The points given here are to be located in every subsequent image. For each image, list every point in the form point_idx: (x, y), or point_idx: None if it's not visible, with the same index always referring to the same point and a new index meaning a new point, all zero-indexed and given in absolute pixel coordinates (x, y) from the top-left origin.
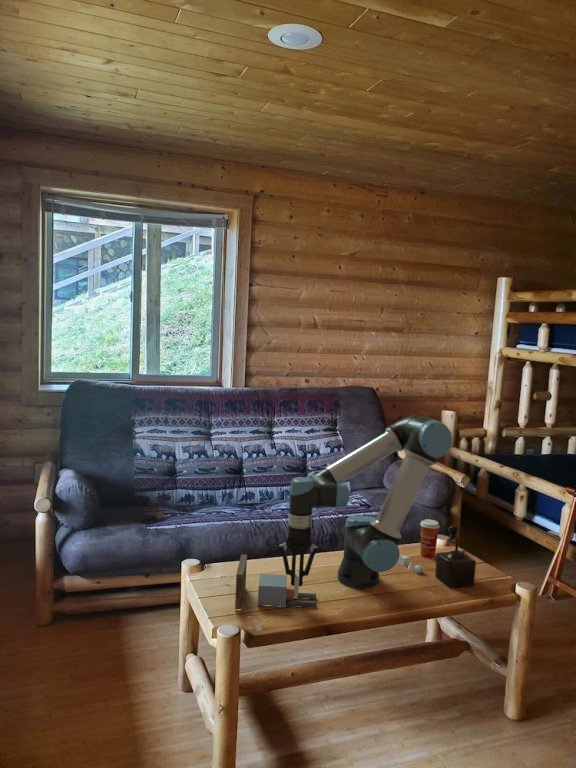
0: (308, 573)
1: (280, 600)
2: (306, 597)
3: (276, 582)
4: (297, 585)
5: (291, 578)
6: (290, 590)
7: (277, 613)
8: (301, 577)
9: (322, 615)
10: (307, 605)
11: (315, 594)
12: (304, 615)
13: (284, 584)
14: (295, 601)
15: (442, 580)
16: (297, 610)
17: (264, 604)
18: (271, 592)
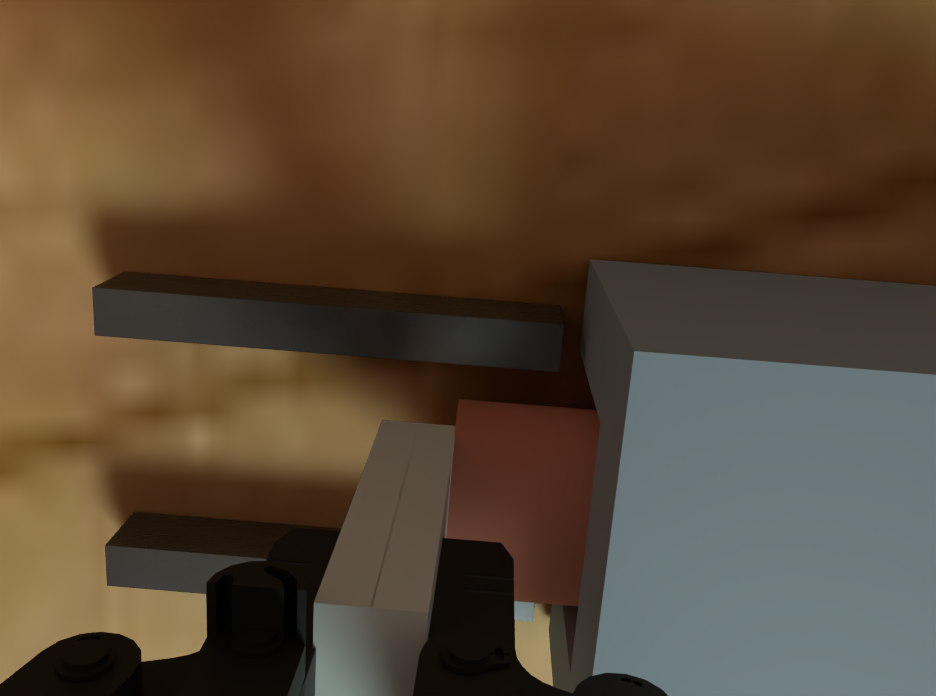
0: (26, 668)
1: (694, 290)
2: (261, 532)
3: (837, 565)
4: (376, 510)
5: (505, 629)
6: (509, 518)
7: (733, 79)
8: (250, 573)
9: (33, 39)
10: (251, 290)
11: (115, 558)
12: (311, 28)
13: (668, 476)
14: (433, 333)
15: None
16: (412, 187)
17: (928, 291)
18: (916, 336)
